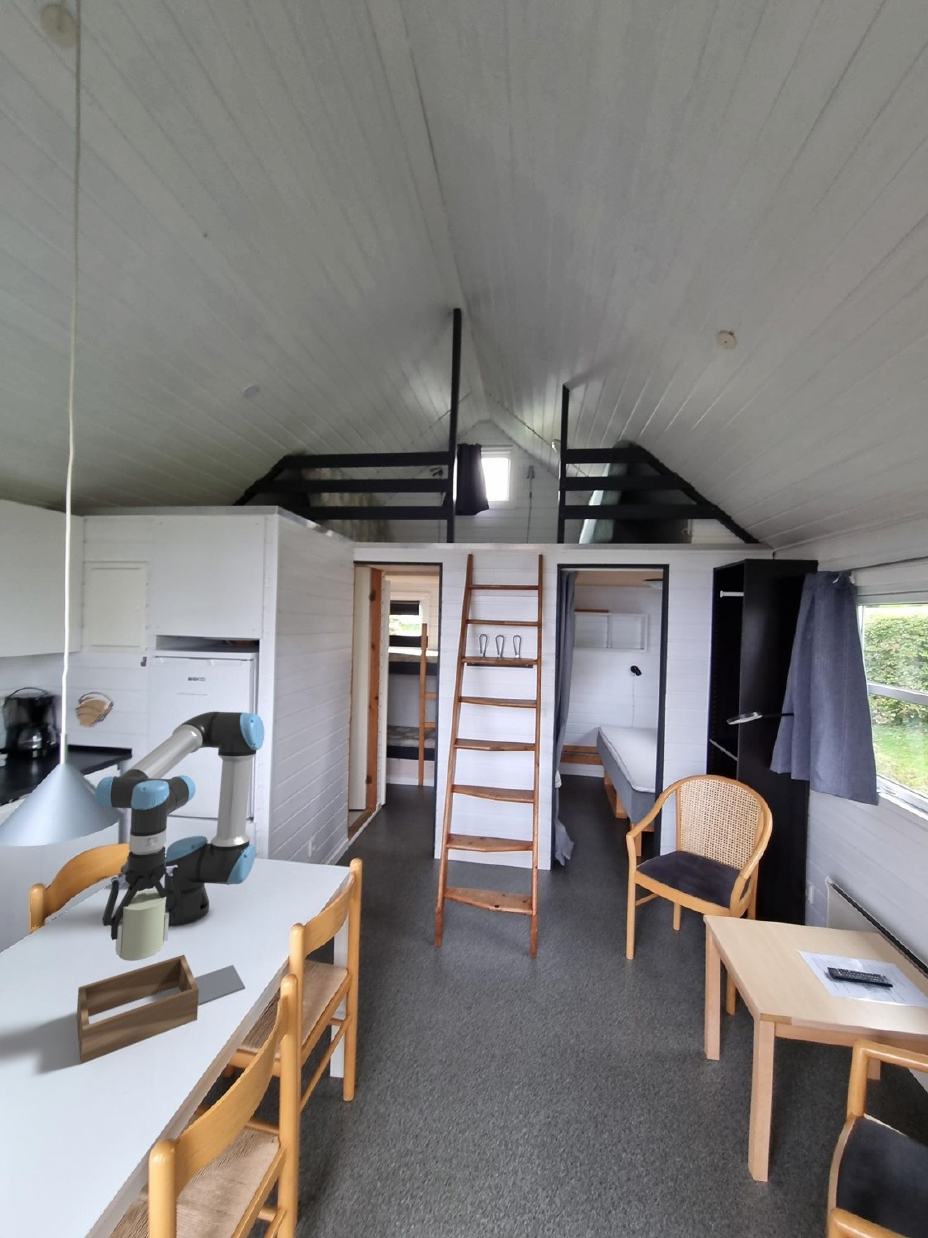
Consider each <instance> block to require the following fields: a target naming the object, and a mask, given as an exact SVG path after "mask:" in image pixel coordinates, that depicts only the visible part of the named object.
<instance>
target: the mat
mask: <svg viewBox="0 0 928 1238" xmlns="http://www.w3.org/2000/svg"><path fill="white" fill-rule="evenodd" d="M194 979H195V981H196V984H197V986H198V989H199V995H198V1007H199V1006H201V1005H203V1004H204V1005H205V1004H206V1003H209V1002H213V1001H215V1000H218V999H220V998H223V997H226V996H228V995H231V994H233V993H237V992H239V991H241V990H244V989H246V986H245V985H244V982H243V980H242V979H241V977H240V975H239V973H238V971H237V970H236V967H235V966H234V964H232V965H229V966H226V967H223V968H220V969H216V970H214V971H211V972H208V973H205V974H202V975H200V976H199V975H198V976H195V977H194Z"/></svg>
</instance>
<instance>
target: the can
mask: <svg viewBox="0 0 928 1238" xmlns="http://www.w3.org/2000/svg"><path fill="white" fill-rule="evenodd" d="M165 903H166V897H164V898H161V896H160V894H159V893H158V891H157V889H155V890H143V891H139V892H137V893H136V895H135V896H134V897H133V899H132V901H131V902H130V904H129V906H128V907H123V917H122V919H121V923H122V938H121V954H119V955H118V957H119V958H120V959H121V960H123V961H129V962H130V961H133V962H134V961H140V960H141V961H142V960H144V959H147V958H150V957H152V956H154V955H156V954H157V953H159V952H160V951H161V950H162V949H163V948H164V946H165V941H164V919H165Z"/></svg>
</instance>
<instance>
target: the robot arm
mask: <svg viewBox="0 0 928 1238" xmlns="http://www.w3.org/2000/svg"><path fill="white" fill-rule="evenodd" d="M264 741H265V726H264V722H263V720H262V718H261V717H260V716H259V715H258V714H256V713H251V712H240V711H239V712H238V711H237V712H234V711H232V712H231V711H228V712H227V711H208V712H204V713H201V714H198V715H196V716H193V717H191V718H189V719H188V720H185V721H184V722H182V723H181V724H180V725H178V726H177V727H175V728H174V729H173V731H172V734H171V736H169V737H168V738H167V739H166V740H164V741H162V743H161V744H160V745H158V746H157V747H156V748H154V749H153V750H152V751H150V752H149V753H148V754H147V755H145V756H144V757H143V758H141V760H139V761H137V762H136V763H135V764H134V765H133V766H131V768H129V769H127V771H125V772H124V773H123V774H121V775H120V776H116V775H113V776H105V777H103V778H102V779H101V780H100V781H99V782H98V783H97V786H96V788H95V791H94V800H95V801H94V802H95V803H96V804H97V805H98V806H99V807H105V808H111V809H130V829H129V830H130V831H129V841H128V850H129V852H128V855H129V857H128V856H127V857H128V870H127V873H126V874H125V875H123V876H120V877H117V876H114V877H112V878H111V881H110V882H111V883H110V884H111V888H110V893H109V896H108V899H107V903H106V906H105V910H104V913H103V914H102V924H103V927H107V926H110V927H111V928H110V938H111V941H114V940H115V952H116V953H115V955H116V956H117V955H118V956H119V954H121V938H122V923H121V919H122V917H123V907H128V906H129V904H130V902H131V901H132V899H133V897H134V896H135V895H136V893H138V892H143V891H145V890H151V889H154V888H155V890H156V891H158V893H159V894H160V896H161V898H164V897H166V903H165V919H164V942H165V941H168V939H169V938H168V937H169V927H171V926H172V927H173V926H174V927H175V926H177V927H178V926H182V925H183V926H184V925H188V924H191V923H194V922H197V921H198V920H200V919H202V918H203V917H205V916H206V915H207V914H208V912H209V911H210V898H209V896H208V893H207V889H206V886H205V884H217V885H228V886H229V885H240V884H243V882H245V880H247V879H248V876H249V875H250V873H251V871H252V869H253V865H254V862H255V860H256V859H255V858H256V851H257V850H256V847H255V845H253V844H250V841H251V837H250V836H249V835H248V834H247V833H246V829H247V828H246V827H247V815H248V814H247V813H248V800H249V790H250V789H249V788H250V778H251V777H250V775H251V762H252V759H253V758H254V757H255V756H257V755H256V754H257V751H258V750H260V749H261V748H262V747H263V744H264ZM204 748H213V749H218V750H217V751H218V752H217V755H218V756H219V758H220V759H221V760H222V765H221V776H220V788H219V801H218V802H219V803H218V813H217V827H216V835H215V836H214V837H213V838H212V839H211V840H210V842H209V840H208V838H207V836H204V835H192V836H188V837H184V838H181V839H178V840H175V841H174V842H172V843H171V844H169V846H168V847H167V849H166V847H165V846H166V843H167V826H168V825H167V824H168V823H167V821H168V815H170V814H171V813H173V812H175V811H176V810H178V809H180V808H182V807H183V806H185V805H187V803H189V801H191V800H192V799H193V798H194V796H195V792H196V790H197V789H196V784H195V782H194V780H193V779H192V778H191V777H189V776H188V775H182V774H181V775H178V776H173V777H172V778H163V777H164V776H165V775H166V774H168V773H169V772H170V771H172V769H174V768H175V767H176V766H177V765H178V764H179V763H180V762H181V761H182V760H183V759H185V758H186V757H187V756H188V755H189V754H192V753H193V754H194V753H195V752H197V751H199V749H204ZM102 794H103V795H102ZM104 797H105V798H104ZM208 842H209V843H208ZM165 854H166V859H165ZM163 877H164V884H162V883H161V880H162V878H163ZM124 883H127V884H128V885H129V886H128V887H127V889H126V893H125V894H124V896H123V898H122V900H121V901H120V903H119V905H118V907H117V908H116V911H115V912H114V910H115V905H116V902H117V899H118V895H119V893H120V888H122V887H123V886H124ZM113 913H114V914H113Z"/></svg>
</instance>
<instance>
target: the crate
mask: <svg viewBox="0 0 928 1238" xmlns="http://www.w3.org/2000/svg"><path fill="white" fill-rule="evenodd" d="M194 978H195V977H194V974H193V972H192V969H191V967H190V964H189V963H188V960H187V958H186V955H185V954H181V955H179V956H175V957H172V958H169V959H165V960H163V961H162V960H161V961H159V962H157V963H153V964H150V965H145V966H143V967H141V968H136V969H134V970H130V971H127V972H124V973H121V974H117V975H114V976H111V977H108V978H104V979H102V980H98V981H95V982H91V983H88V984H86V985H82V986H79V987H78V989H77V990H78V992H77V1003H76V1004H77V1008H76V1025H77V1026H76V1027H77V1038H78V1049H79V1060H80V1065H82V1064H85V1063H87V1062H90V1061H92V1060H95V1059H98V1058H100V1057H103V1056H105V1055H108V1054H111V1053H114V1052H116V1051H118V1050H121V1049H125V1048H126V1047H129V1046H132V1045H135V1044H137V1043H140V1042H141V1041H142V1042H143V1041H144V1040H147V1039H150V1038H153V1037H155V1036H158V1035H160V1034H163V1033H165V1032H168V1031H171V1030H173V1029H177V1028H179V1027H181V1026H183V1025H186V1024H189V1023H191V1022H194V1021H196V1020H198V1010H199V1006H198V995H199V989H198V986H197V984H196V981H195V979H194ZM177 987H178V989H179V990H180V992H178V993H176V994H172V995H170V996H166V997H164V998H161V999H158V1000H155V1001H153V1002H150V1003H147V1004H144V1005H142V1006H139V1007H135V1008H133V1009H130V1010H127V1011H123V1012H121V1013H118V1014H116V1015H113V1016H109V1017H106V1018H103V1019H101V1020H98V1021H95V1022H92V1023H90V1020H89V1019H90V1018H89V1017H91V1016H95V1015H97V1014H98V1015H99V1014H101V1013H103V1012H106V1011H109V1010H113V1009H115V1008H118V1007H121V1006H124V1005H127V1004H130V1003H133V1002H135V1001H138V1000H141V999H145V998H148V997H150V996H153V995H157V994H159V993H162V992H164V991H168V990H171V989H174V988H177Z"/></svg>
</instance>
